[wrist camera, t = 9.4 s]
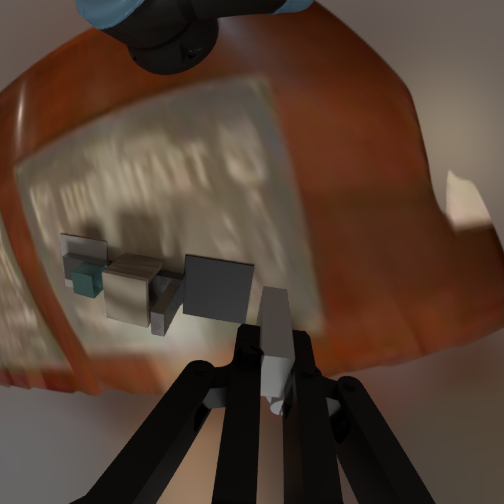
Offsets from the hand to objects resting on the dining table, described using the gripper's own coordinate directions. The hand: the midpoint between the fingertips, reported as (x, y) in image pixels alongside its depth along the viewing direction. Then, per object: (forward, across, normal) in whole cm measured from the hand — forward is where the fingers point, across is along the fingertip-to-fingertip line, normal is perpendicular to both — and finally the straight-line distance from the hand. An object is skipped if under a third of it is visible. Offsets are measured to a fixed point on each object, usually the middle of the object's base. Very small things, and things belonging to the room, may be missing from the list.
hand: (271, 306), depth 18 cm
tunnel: (+29, -21, -16) cm, 39 cm away
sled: (+29, -25, -16) cm, 41 cm away
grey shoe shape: (+29, -7, -16) cm, 34 cm away
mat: (+29, -35, -16) cm, 48 cm away
